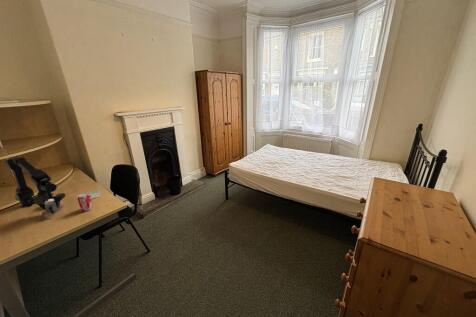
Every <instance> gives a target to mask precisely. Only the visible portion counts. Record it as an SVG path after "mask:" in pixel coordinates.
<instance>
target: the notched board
mask: <svg viewBox="0 0 476 317" xmlns="http://www.w3.org/2000/svg"><path fill="white" fill-rule="evenodd" d="M64 207H66V205H65V204H64V205H63V204H62V203H60V206H59V208H58V211H57V212H56V213H53V214H51V212H50V209H45V210H43V211H42V212H41V215H42V218H41V219H40V221H47V220H52V219H53V218H54V217H55V216H56V215H57V214H59V212H60V211H61V210H62V209H63V208H64Z"/></svg>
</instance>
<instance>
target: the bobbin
mask: <svg viewBox="0 0 476 317" xmlns="http://www.w3.org/2000/svg"><path fill="white" fill-rule="evenodd" d="M53 201H55V200H54V199H49V200H48V201H45V204H47V203H49V202H53ZM60 204H62V202H61V201H60Z"/></svg>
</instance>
